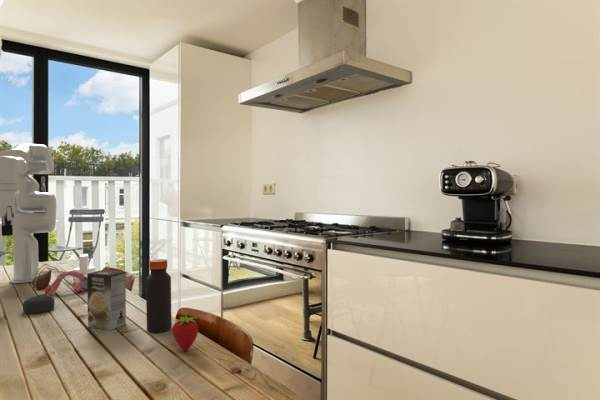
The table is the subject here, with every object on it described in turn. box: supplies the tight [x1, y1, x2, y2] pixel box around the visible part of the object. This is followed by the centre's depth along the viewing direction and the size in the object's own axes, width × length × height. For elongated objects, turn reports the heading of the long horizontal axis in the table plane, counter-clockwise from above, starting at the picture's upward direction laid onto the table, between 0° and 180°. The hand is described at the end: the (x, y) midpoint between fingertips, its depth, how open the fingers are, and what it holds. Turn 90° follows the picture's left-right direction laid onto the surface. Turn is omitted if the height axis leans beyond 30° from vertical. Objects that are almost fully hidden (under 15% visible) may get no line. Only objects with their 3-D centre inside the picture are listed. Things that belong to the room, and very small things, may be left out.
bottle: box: [145, 258, 173, 334], centre depth 110 cm, size 7×7×20 cm
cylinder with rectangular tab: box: [72, 253, 96, 284], centre depth 176 cm, size 9×9×12 cm
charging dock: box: [79, 274, 87, 291], centre depth 161 cm, size 15×2×5 cm, turn 46°
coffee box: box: [86, 269, 127, 331], centre depth 114 cm, size 9×6×16 cm
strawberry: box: [172, 311, 199, 352], centre depth 94 cm, size 6×8×10 cm
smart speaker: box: [22, 295, 55, 315], centre depth 130 cm, size 9×9×4 cm
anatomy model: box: [30, 263, 85, 297], centre depth 155 cm, size 11×15×17 cm
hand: (7, 235), depth 148 cm, fingers closed
